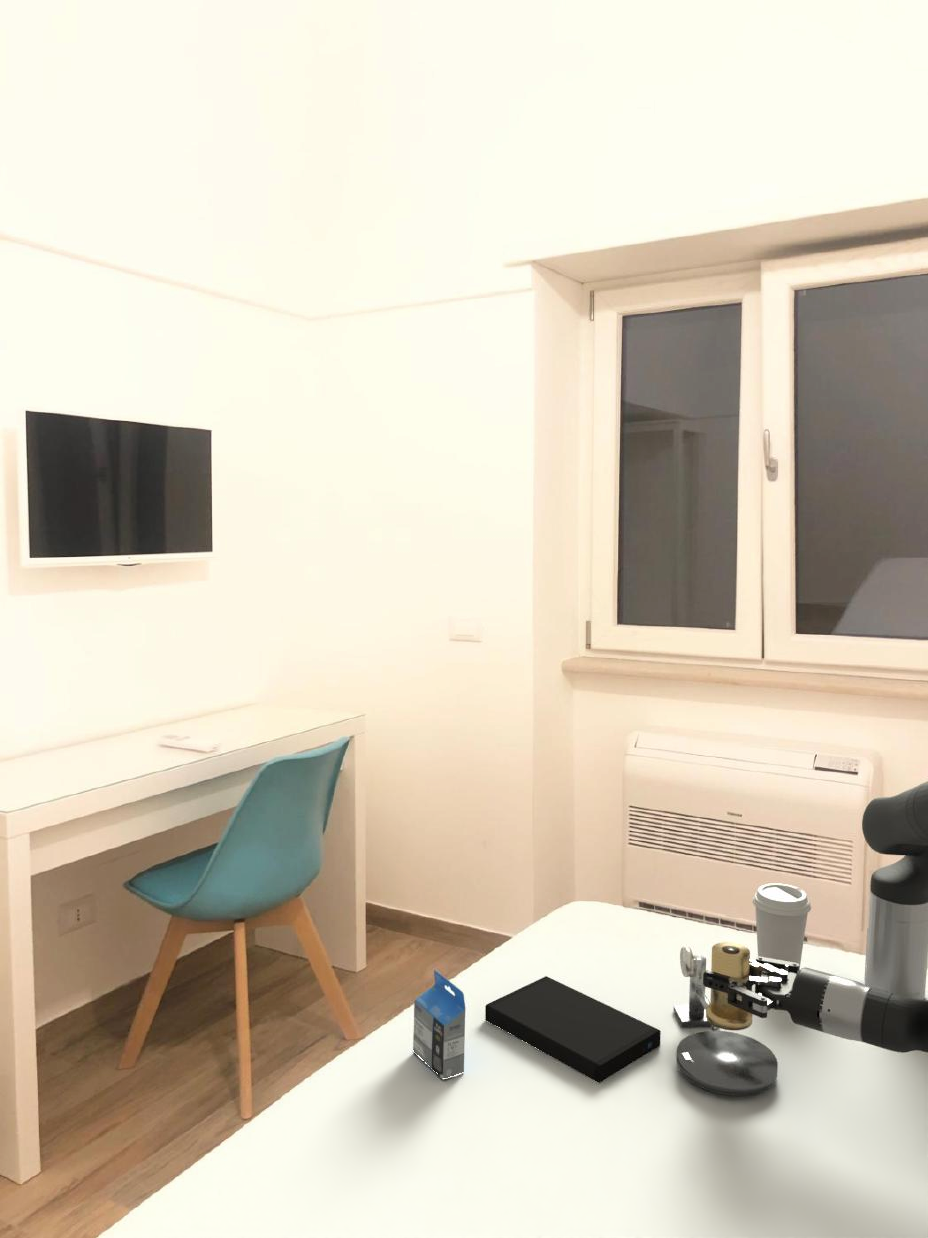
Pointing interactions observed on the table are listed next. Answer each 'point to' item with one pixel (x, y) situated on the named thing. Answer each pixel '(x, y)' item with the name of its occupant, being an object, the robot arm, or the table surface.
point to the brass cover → (718, 1011)
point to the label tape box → (440, 1027)
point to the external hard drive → (573, 1028)
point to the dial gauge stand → (693, 992)
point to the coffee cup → (781, 921)
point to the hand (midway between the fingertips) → (712, 970)
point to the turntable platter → (727, 1063)
